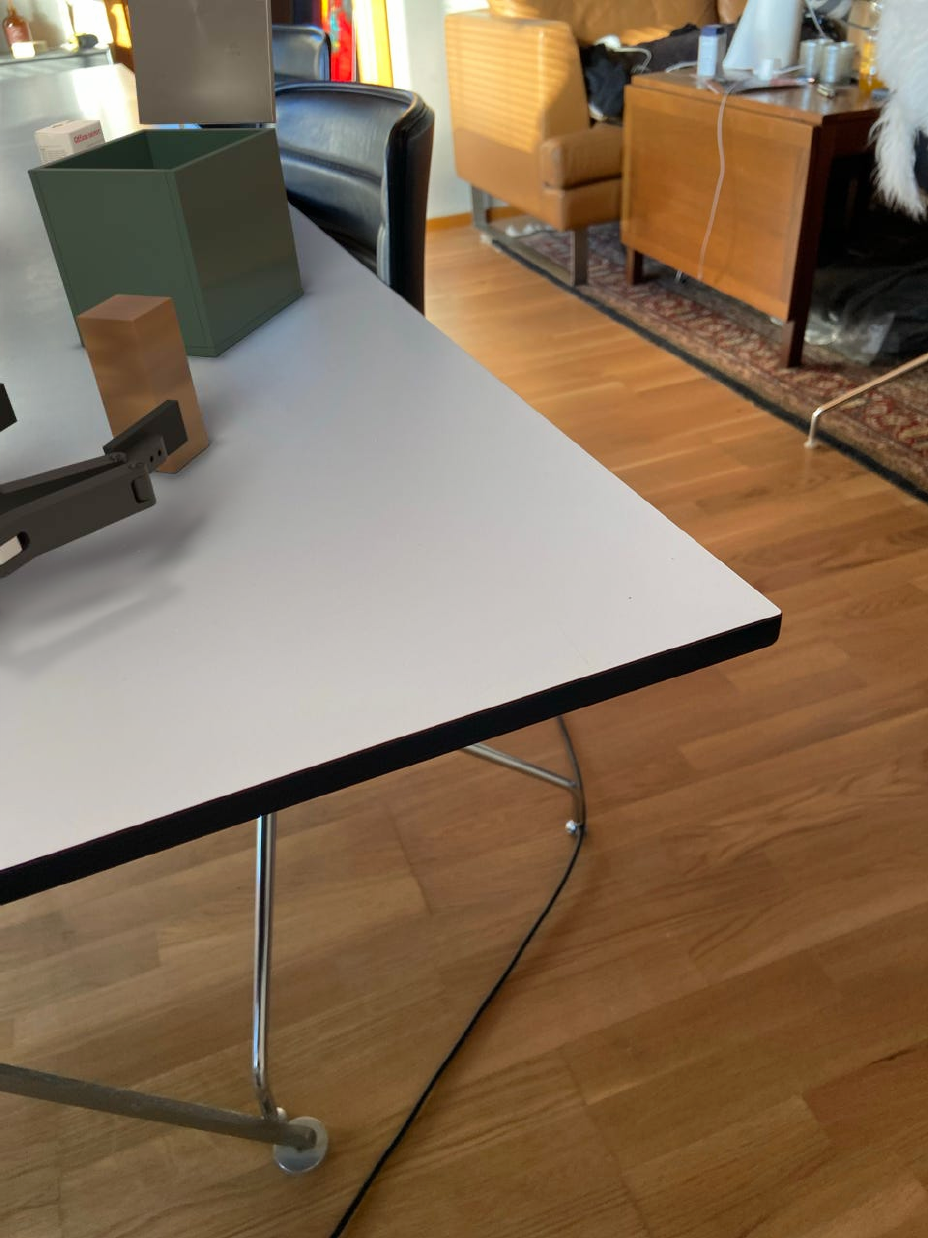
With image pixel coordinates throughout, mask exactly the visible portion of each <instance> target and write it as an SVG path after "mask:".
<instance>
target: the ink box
mask: <svg viewBox="0 0 928 1238" xmlns="http://www.w3.org/2000/svg"><path fill="white" fill-rule="evenodd" d="M34 133H35V134H33V136H34V137H33V138H34V141H35V144H36V147H37V150H38V154H39V157H40V160H41V164H42V165H44V164H47V163H50V162H53V161H56V160H58V159H61V158H64V157H67V156H70V155H72V154H75V153H78V152H81V151H84V150H86V149H89V148H92V147H95V146H97V145H100V144H103V143H106V139H105V136H104V131H103V127H102V124H101V120H100V119H65V120H62V121H59V122H55V123H53V124H50V125H48V126H46V127H43V128H41V129H38V130H35V131H34Z"/></svg>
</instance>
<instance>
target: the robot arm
mask: <svg viewBox="0 0 928 1238" xmlns="http://www.w3.org/2000/svg"><path fill="white" fill-rule="evenodd" d="M7 391H8V390H7V389H6V385H5V383H2V382H0V433H1V432H3V431H5V430H6V429H9V427H11V426H13V425H14V424H16V423H17V422H18V419H17V416H16V413H15V410H14V408H13V405H12V402H11V399H10V397H9V394H8V392H7ZM187 441H188V437H187V434H186V430H185V426H184V422H183V418H182V415H181V411H180V407H179V403H178V400H168V399H167V400H166V401H165V402H163V403H162V404H161V405H159V406H158V407H156V408H155V409H154V410H152V411H151V412H150V413H148V414H147V415H145V416H144V417H143V418H141V419H140V420H139V421H137V422H136V423H134V424H133V425H132V426H130V427H129V428H128V429H126V430H125V431H123V432H122V433H121V434H119V435H118V436H117V437H115V438H114V437H113V438H112V439H110V441H108V442H107V443H106V444H104V445H103V446H102V451H103V453H104V454H103V455H100V456H97V457H92V458H89V459H86V460H83V461H78V462H75V463H72V464H68V465H65V466H62V467H57V468H55V469H51V470H48V471H44V472H39V473H37V474H33V475H29V476H26V477H23V478H18V479H16V480H12V481H9V482H5V483H1V484H0V579H4V578H7V577H9V576H11V575H12V574H13V573H15V572H16V571H17V570H19V569H20V568H22V567H23V566H25V565H26V564H28V563H29V562H31V561H32V560H34V559H36V558H38V557H40V556H42V555H44V554H47V553H49V552H52V551H54V550H56V549H58V548H61V547H63V546H66V545H67V544H71V543H72V542H74V541H76V540H78V539H81V538H83V537H86V536H89V535H90V534H92V533H95V532H97V531H100V530H102V529H104V528H107V527H109V526H111V525H113V524H116V523H118V522H120V521H122V520H125V519H126V518H127V519H128V518H130V517H131V516H134V515H136V514H138V513H141V512H143V511H145V510H147V509H150V508H152V507H154V506H155V505H156V504H157V502H158V500H157V497H156V494H155V490H154V486H153V485H152V484H153V483H152V480H151V477H150V474H152V473H153V472H155V471H154V470H155V469H156V468H158V467H159V466H160V465H162V464H163V463H164V462H165V461H166V460H167V458H168V456H169V455H171V454H172V453H173V452H174V451H176V450H177V449H178V448H179V447H181V446H182V445H183V444H184V443H186V442H187Z"/></svg>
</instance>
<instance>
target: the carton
mask: <svg viewBox="0 0 928 1238" xmlns="http://www.w3.org/2000/svg"><path fill="white" fill-rule="evenodd" d="M76 319H77V322H78V325H79V328H80V332H81V335H82V338H83V341H84V344H85V350H86V354H87V357H88V360H89V363H90V367H91V370H92V374H93V377H94V380H95V382H96V386H97V389H98V393H99V395H100V399H101V402H102V406H103V409H104V412H105V415H106V418H107V421H108V424H109V428H110V430H111V435H112V438H113V439H114V438H115V437H117V436H118V435H119V434H121V433H122V432H123V431H125V430H126V429H128V428H129V427H130V426H132V425H133V424H134V423H136V422H137V421H139V420H140V419H141V418H143V417H144V416H145V415H147V414H148V413H150V412H151V411H152V410H154V409H155V408H156V407H158V406H159V405H161V404H162V403H163V402H165V401H166V400H167V399H168V400H178V403H179V407H180V411H181V415H182V418H183V422H184V426H185V430H186V434H187V437H188V441H187V442H186V443H184V444H183V445H182V446H181V447H179V448H178V449H177V450H176V451H174V452H173V453H172V454H171V455H169V456H168V458H167V460H166V461H165V462H164V463H163V464H162V465H160V466H159V467H158V468H156V469H155V470H154V471H153V472H159V473H160V472H161V473H169V474H176V473H177V472H179V471H180V470H181V469H182V468H184V466H186V465H187V464H188V463H190V462H191V461H192V460H193V459H194V458H196V457H197V456H198V455H199V454H200V453H202V452H203V451H204V450H206V448H207V447H209V445H210V444H209V439H208V436H207V432H206V428H205V424H204V420H203V415H202V411H201V408H200V404H199V400H198V396H197V392H196V388H195V383H194V380H193V376H192V372H191V368H190V364H189V359H188V355H186V351H185V347H184V343H183V339H182V335H181V331H180V327H179V323H178V319H177V315H176V311H175V307H174V303H173V299H172V297H159V296H141V295H123V294H117V295H115V296H113V297H111V298H109V299H108V300H106V301H104V302H102V303H100V304H99V305H97V306H95V307H93V308H91V309H90V310H88V311H86V312H84V313H82V314H81V315H79V316H77V317H76Z"/></svg>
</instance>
